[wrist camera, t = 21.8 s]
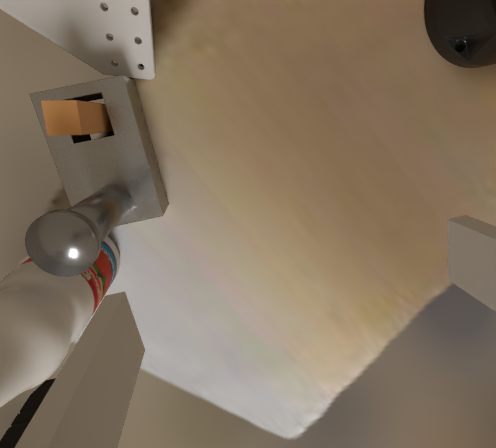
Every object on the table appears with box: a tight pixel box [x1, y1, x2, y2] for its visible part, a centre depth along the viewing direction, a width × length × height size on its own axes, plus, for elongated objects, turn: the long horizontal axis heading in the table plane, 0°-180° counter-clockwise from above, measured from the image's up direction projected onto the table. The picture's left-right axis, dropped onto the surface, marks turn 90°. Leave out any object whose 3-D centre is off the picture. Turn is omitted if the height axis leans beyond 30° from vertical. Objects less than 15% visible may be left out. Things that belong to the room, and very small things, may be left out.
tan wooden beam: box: [41, 100, 113, 136], centre depth 37 cm, size 3×3×13 cm
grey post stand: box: [25, 75, 169, 277], centre depth 35 cm, size 10×16×21 cm, turn 11°
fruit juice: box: [0, 236, 120, 407], centre depth 35 cm, size 9×9×28 cm
